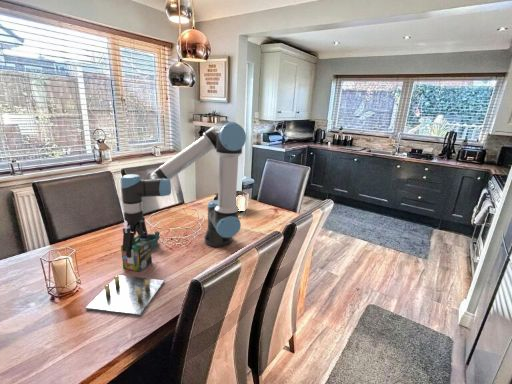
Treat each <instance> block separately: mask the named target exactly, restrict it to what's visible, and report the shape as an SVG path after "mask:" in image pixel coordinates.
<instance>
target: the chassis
mask: <svg viewBox="0 0 512 384" xmlns="http://www.w3.org/2000/svg"><path fill="white" fill-rule="evenodd" d="M113 277H114V279H113V280H112V281H111V282H110V283H108V284H105V285H104V289H103V290H102V291H101V292H99V294H98V295H96V297H95V298H94V299H93V300H92V301H90V303H89V304H88V305H87V306H86V307H85V310H86V311H91V312H92V311H93V312H101V313H109V314H114V315H115V314H116V315H125V316H133V317H142V315H143V314H144V312H145V311H146V310H147V308H148V306H149V305H150V304H151V303H152V301H153V300H154V298H155V297H156V295H157V294H158V292H159V291H160V290H161V288H162V287H163V285H164V284H165V280H164V279H157V278H148V277H138V276H129V275H119V274H115V275H114V276H113Z"/></svg>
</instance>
